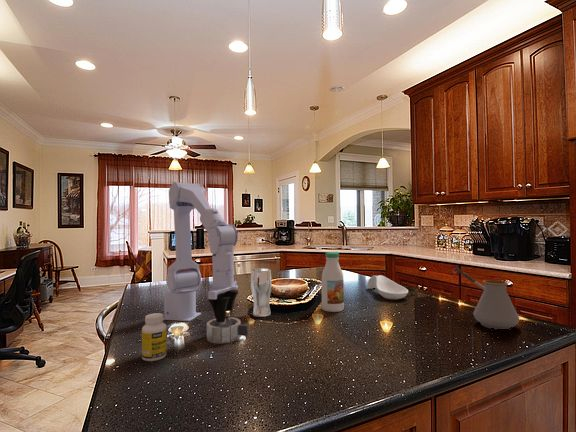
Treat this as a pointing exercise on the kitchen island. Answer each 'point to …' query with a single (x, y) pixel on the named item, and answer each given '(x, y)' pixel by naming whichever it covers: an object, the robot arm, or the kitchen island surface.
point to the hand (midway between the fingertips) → (223, 319)
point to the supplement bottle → (154, 337)
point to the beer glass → (261, 291)
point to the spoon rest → (387, 287)
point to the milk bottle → (332, 284)
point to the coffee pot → (494, 305)
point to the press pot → (225, 330)
